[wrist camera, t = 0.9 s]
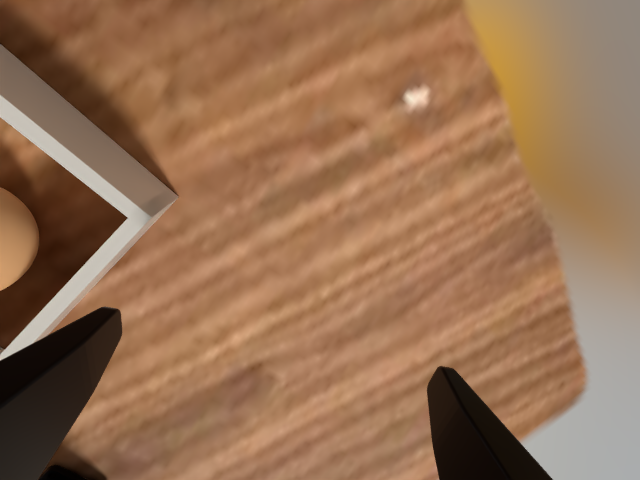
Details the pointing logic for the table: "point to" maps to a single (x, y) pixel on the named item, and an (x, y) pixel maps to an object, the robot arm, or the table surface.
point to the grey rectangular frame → (88, 166)
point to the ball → (16, 239)
